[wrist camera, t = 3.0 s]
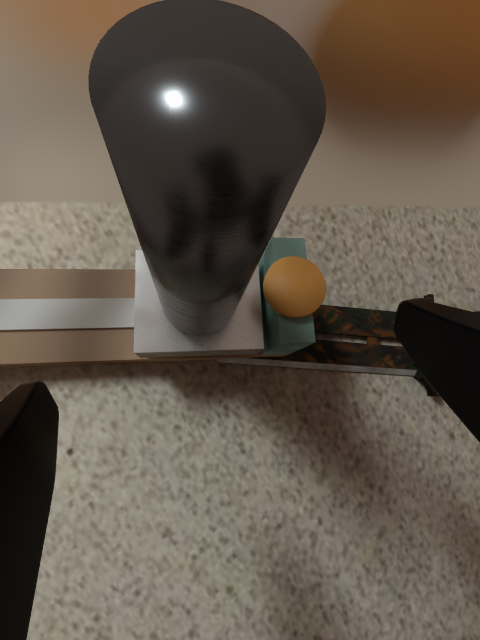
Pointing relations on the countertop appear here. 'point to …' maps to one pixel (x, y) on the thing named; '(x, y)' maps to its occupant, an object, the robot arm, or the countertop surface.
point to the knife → (350, 345)
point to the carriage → (203, 162)
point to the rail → (119, 308)
